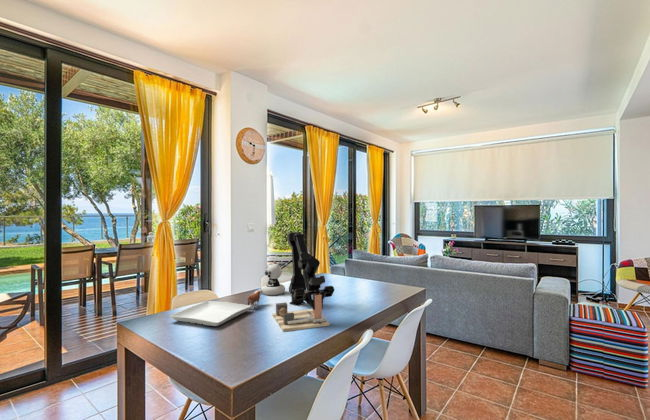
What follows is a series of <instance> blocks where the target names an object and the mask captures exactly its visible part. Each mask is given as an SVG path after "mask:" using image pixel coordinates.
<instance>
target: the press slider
mask: <svg viewBox="0 0 650 420" xmlns="http://www.w3.org/2000/svg"><path fill="white" fill-rule="evenodd" d="M312 300H313V303H314V306H315V310H313V315H310V316H309V317H306V318H298V319H294V313H284V314H283V323H284V324H295V323H303V322H311V321H312V322H313V323H316V322H323V321H326V320H327V319H326V317H325V316H324V315H323V313H322V310H323V308H322V295H321V294H320V293H314V294H313V295H312Z"/></svg>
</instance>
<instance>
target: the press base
mask: <svg viewBox="0 0 650 420" xmlns="http://www.w3.org/2000/svg"><path fill="white" fill-rule="evenodd" d="M284 313H294V319H298V318H306V317H309V316H310V315H313V309H312V308H310V309H300V310H292V311H291V310H290V311H288V303H287V302H278V303H275V312H273V313H272V317H273V319H274V321H275V322H276V323H277V325H278V326H279V327H280V329H281V331H282V332H283V333H284V332H290V331H291V332H292V331H298V330H304V329H312V328H319V327H320V328H321V327H328V326H330V325H331V324H330V322H329V321H328V320H327V319H326V321H323V322H316V323H313V322H312V321H311V322H303V323H295V324H284V323H283V314H284Z"/></svg>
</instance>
